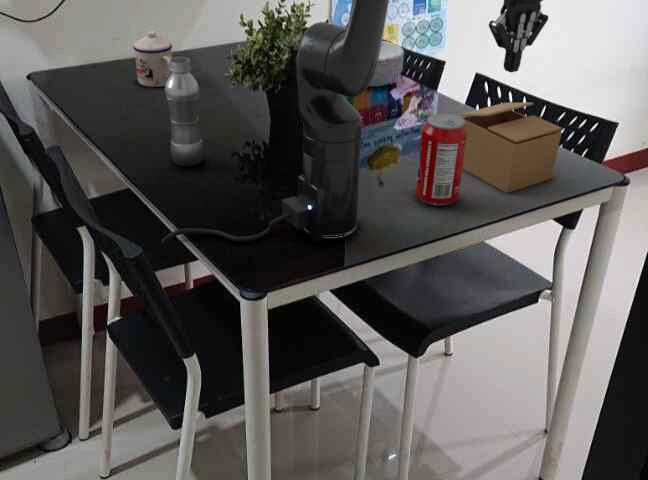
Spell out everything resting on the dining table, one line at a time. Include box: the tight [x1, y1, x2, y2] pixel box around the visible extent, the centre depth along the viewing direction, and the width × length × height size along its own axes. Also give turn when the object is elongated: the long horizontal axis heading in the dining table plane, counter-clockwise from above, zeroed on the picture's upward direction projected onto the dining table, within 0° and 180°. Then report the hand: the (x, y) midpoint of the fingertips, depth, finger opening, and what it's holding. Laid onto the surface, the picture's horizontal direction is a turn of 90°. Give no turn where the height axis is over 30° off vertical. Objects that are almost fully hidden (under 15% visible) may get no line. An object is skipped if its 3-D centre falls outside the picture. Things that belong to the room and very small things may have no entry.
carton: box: [461, 110, 563, 194], centre depth 150 cm, size 15×12×10 cm
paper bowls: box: [368, 40, 405, 88], centre depth 192 cm, size 15×15×8 cm
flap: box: [460, 101, 534, 117], centre depth 149 cm, size 7×12×1 cm, turn 123°
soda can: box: [415, 113, 467, 207], centre depth 138 cm, size 8×8×15 cm
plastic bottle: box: [164, 56, 205, 167], centre depth 147 cm, size 6×7×20 cm
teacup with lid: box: [132, 31, 173, 88], centre depth 185 cm, size 12×9×12 cm
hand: (510, 70), depth 143 cm, fingers closed
